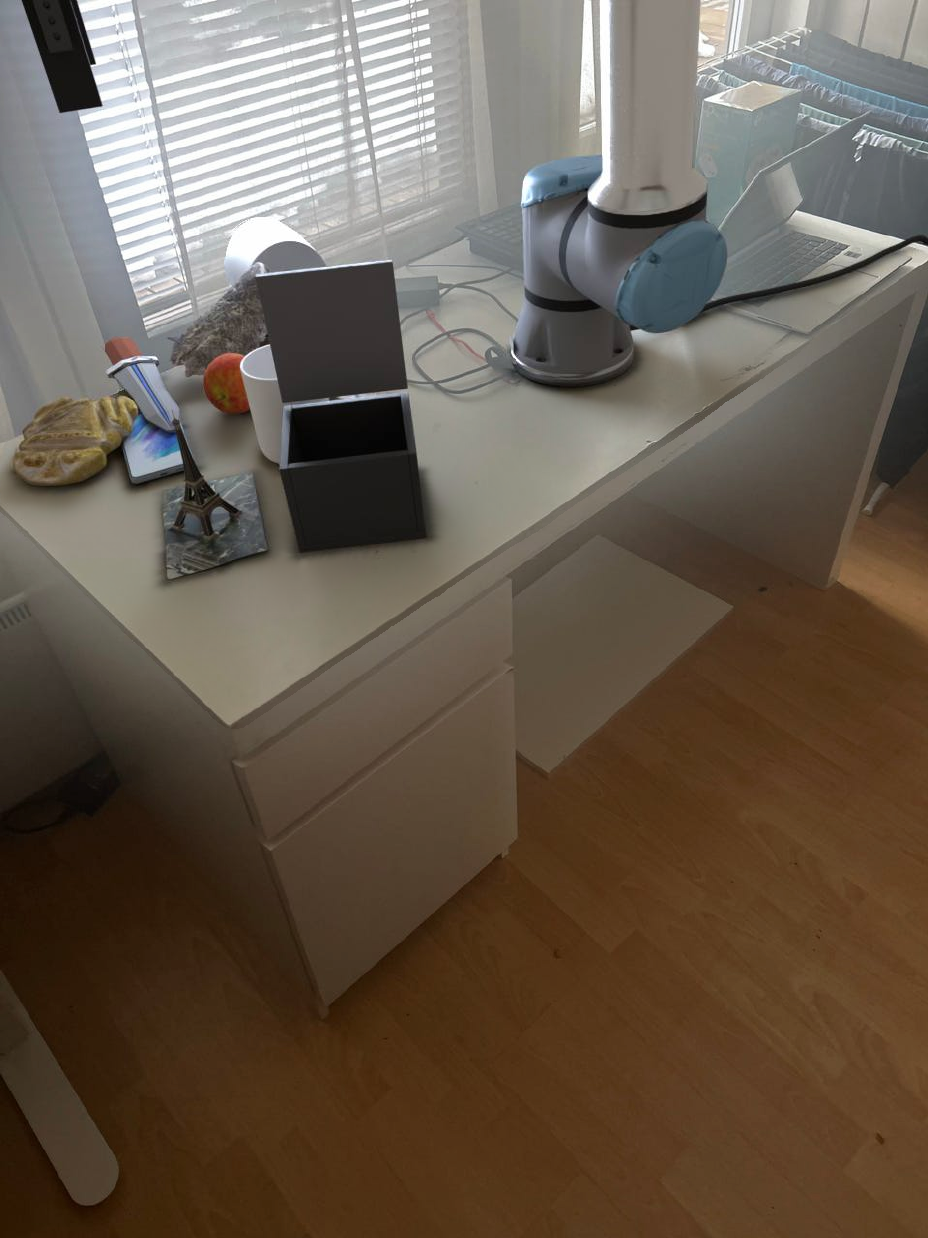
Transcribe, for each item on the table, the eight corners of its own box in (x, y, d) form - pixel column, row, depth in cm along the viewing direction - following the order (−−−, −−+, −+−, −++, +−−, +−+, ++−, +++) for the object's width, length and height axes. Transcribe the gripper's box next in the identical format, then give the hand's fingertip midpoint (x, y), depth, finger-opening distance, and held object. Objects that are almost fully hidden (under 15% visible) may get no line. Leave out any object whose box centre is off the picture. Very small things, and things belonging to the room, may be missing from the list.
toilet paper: (266, 343, 125) (240, 315, 133) (342, 307, 127) (313, 281, 135) (231, 261, 117) (206, 236, 125) (313, 223, 119) (284, 201, 127)
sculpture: (143, 389, 107) (86, 468, 97) (154, 414, 109) (100, 494, 99) (45, 391, 110) (-20, 468, 100) (58, 415, 112) (-4, 493, 102)
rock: (157, 369, 116) (220, 407, 115) (144, 335, 110) (210, 374, 109) (248, 277, 123) (308, 312, 122) (241, 240, 117) (304, 276, 115)
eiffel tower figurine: (271, 555, 89) (239, 438, 80) (167, 579, 88) (122, 462, 78) (253, 475, 100) (223, 363, 91) (160, 495, 98) (120, 383, 89)
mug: (372, 452, 102) (358, 364, 94) (266, 474, 100) (243, 386, 93) (357, 415, 108) (344, 329, 101) (257, 435, 106) (235, 350, 99)
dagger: (203, 431, 107) (141, 340, 127) (198, 414, 106) (136, 325, 126) (148, 448, 105) (93, 353, 125) (142, 431, 103) (87, 338, 123)
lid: (392, 261, 83) (392, 259, 84) (255, 276, 83) (256, 274, 83) (408, 388, 91) (407, 385, 91) (282, 403, 90) (282, 399, 91)
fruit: (266, 344, 108) (241, 377, 102) (276, 397, 113) (253, 430, 107) (211, 341, 109) (183, 373, 103) (223, 393, 114) (198, 426, 108)
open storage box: (426, 537, 90) (416, 453, 83) (299, 553, 89) (279, 469, 82) (418, 472, 98) (408, 391, 91) (301, 486, 98) (283, 405, 91)
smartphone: (130, 480, 99) (114, 417, 109) (133, 487, 100) (116, 424, 110) (195, 461, 101) (173, 401, 111) (197, 468, 101) (175, 407, 112)
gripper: (-108, -331, 57) (27, 58, 71) (-181, -393, 39) (18, 140, 54) (16, -339, 58) (124, 44, 73) (-1, -403, 41) (146, 120, 55)
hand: (79, 86), depth 63 cm, fingers open, 13 cm apart
